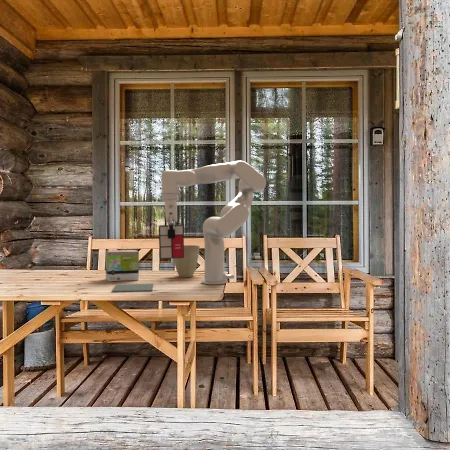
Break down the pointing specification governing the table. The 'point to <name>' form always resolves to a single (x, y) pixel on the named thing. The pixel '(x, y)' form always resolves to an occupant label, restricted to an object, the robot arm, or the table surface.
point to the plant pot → (187, 261)
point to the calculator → (171, 242)
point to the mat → (133, 288)
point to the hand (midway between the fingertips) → (171, 237)
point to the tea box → (122, 265)
